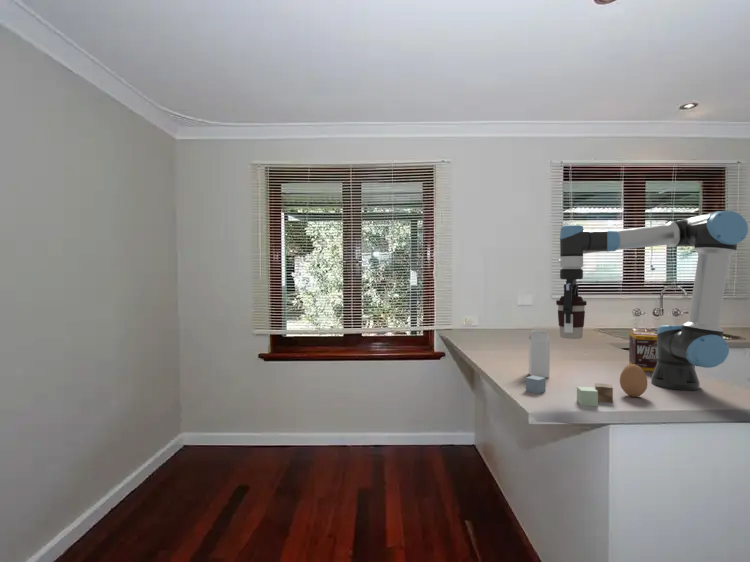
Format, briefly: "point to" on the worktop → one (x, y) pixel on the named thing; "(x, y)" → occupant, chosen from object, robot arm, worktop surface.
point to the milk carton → (539, 353)
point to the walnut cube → (604, 392)
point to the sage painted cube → (587, 396)
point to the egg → (633, 380)
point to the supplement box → (643, 350)
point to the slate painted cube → (535, 384)
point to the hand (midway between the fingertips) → (571, 330)
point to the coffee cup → (577, 317)
